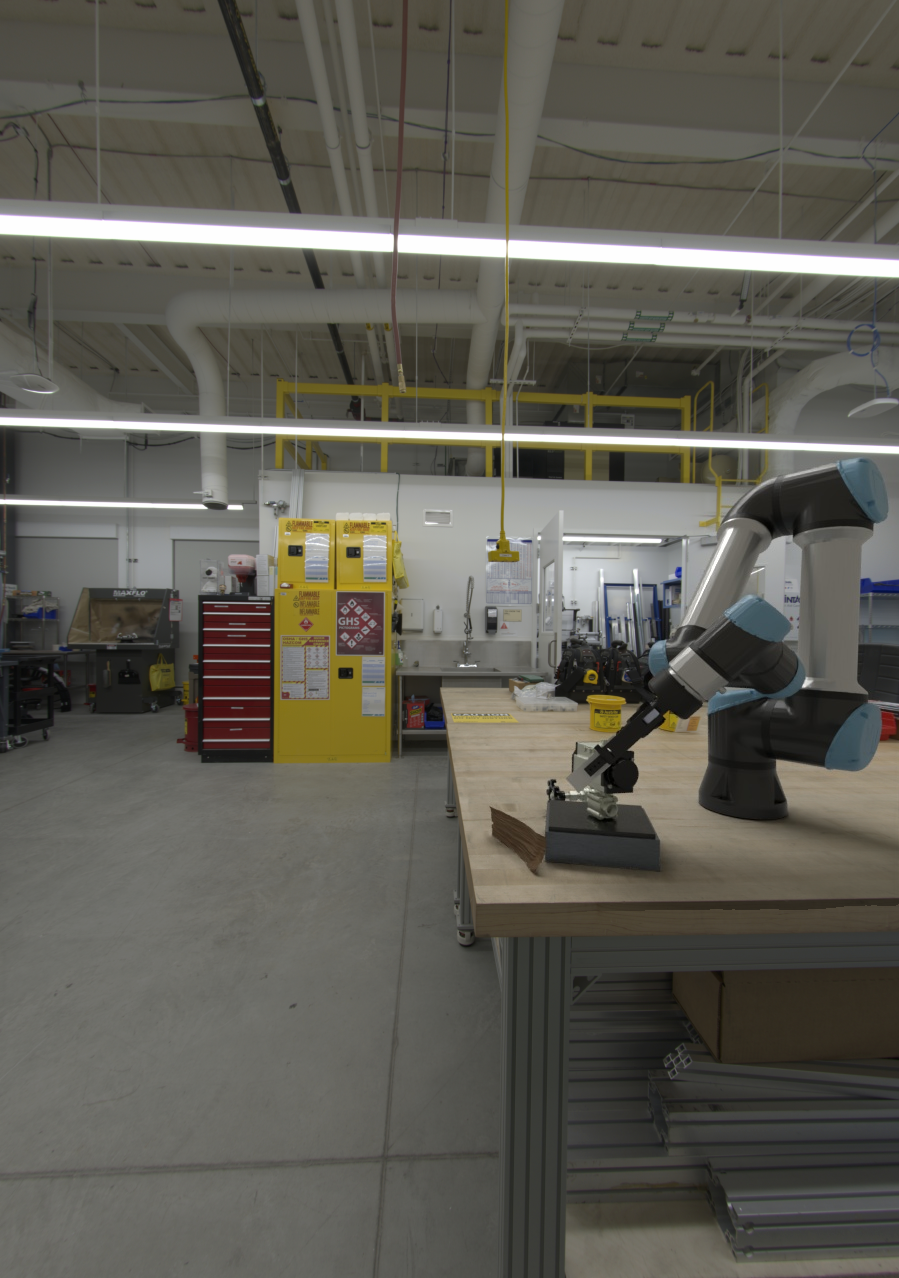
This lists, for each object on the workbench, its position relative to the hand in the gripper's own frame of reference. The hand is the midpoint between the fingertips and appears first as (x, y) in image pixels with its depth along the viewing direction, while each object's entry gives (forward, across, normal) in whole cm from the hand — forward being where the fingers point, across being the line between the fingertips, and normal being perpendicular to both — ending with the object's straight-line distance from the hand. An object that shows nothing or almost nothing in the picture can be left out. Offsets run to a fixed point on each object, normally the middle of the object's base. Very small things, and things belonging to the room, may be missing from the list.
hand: (582, 774), depth 82 cm
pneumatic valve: (+2, -1, -6) cm, 7 cm away
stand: (+6, 0, -10) cm, 11 cm away
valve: (+11, +15, -6) cm, 20 cm away
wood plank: (+14, -8, -2) cm, 17 cm away
